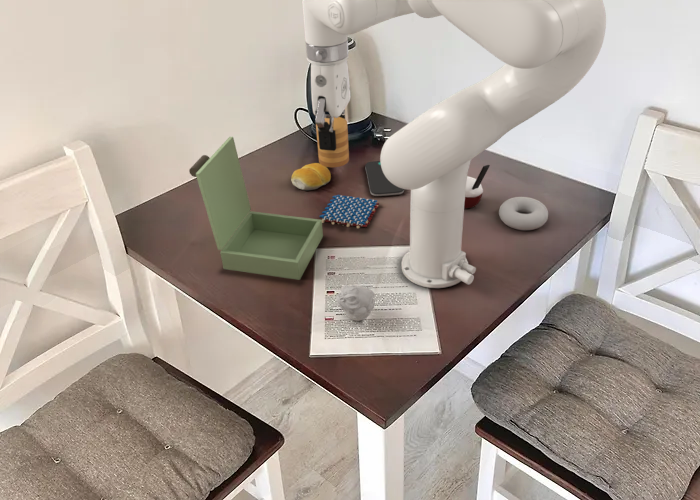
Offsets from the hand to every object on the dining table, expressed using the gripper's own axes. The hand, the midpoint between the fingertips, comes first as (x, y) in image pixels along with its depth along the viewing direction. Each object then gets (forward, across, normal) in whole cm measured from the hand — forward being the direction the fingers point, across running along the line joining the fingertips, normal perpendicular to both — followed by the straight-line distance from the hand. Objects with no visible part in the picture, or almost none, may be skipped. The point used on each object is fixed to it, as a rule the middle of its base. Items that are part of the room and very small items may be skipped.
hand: (332, 140), depth 128 cm
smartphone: (+19, +20, -6) cm, 28 cm away
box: (+19, -13, +9) cm, 25 cm away
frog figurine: (+20, -28, -11) cm, 36 cm away
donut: (+20, +9, -38) cm, 43 cm away
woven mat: (+20, +3, -2) cm, 20 cm away
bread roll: (+20, +15, +11) cm, 27 cm away
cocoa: (+20, +12, -26) cm, 35 cm away
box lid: (+6, -13, +17) cm, 23 cm away
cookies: (+4, 0, 0) cm, 4 cm away
